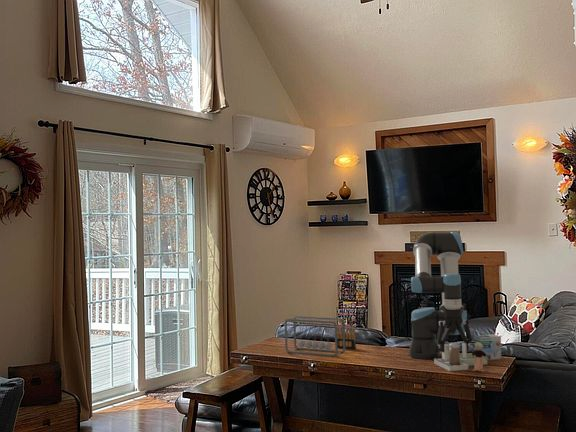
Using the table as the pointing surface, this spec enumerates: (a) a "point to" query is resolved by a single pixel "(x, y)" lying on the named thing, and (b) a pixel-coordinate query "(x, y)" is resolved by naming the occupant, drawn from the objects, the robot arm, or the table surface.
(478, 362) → the grandmother figurine
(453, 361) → the white and tan cylinder
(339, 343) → the ammunition clip
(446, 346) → the fuse
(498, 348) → the light bulb box
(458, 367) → the white flat frame
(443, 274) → the robot arm
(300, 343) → the newton's cradle
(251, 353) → the table surface
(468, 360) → the parts tray
